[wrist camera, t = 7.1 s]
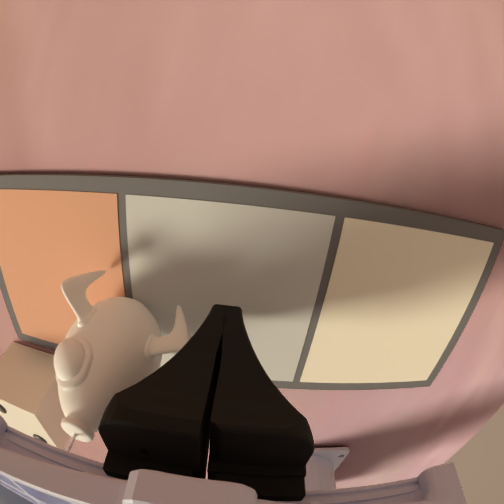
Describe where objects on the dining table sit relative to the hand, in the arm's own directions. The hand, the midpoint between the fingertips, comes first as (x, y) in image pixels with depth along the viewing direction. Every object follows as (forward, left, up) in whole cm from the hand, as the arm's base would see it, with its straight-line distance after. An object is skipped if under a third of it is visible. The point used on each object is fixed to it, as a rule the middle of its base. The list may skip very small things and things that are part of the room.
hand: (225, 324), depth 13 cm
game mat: (0, 0, -2) cm, 2 cm away
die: (-9, +13, -2) cm, 16 cm away
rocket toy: (-1, +5, -1) cm, 5 cm away
